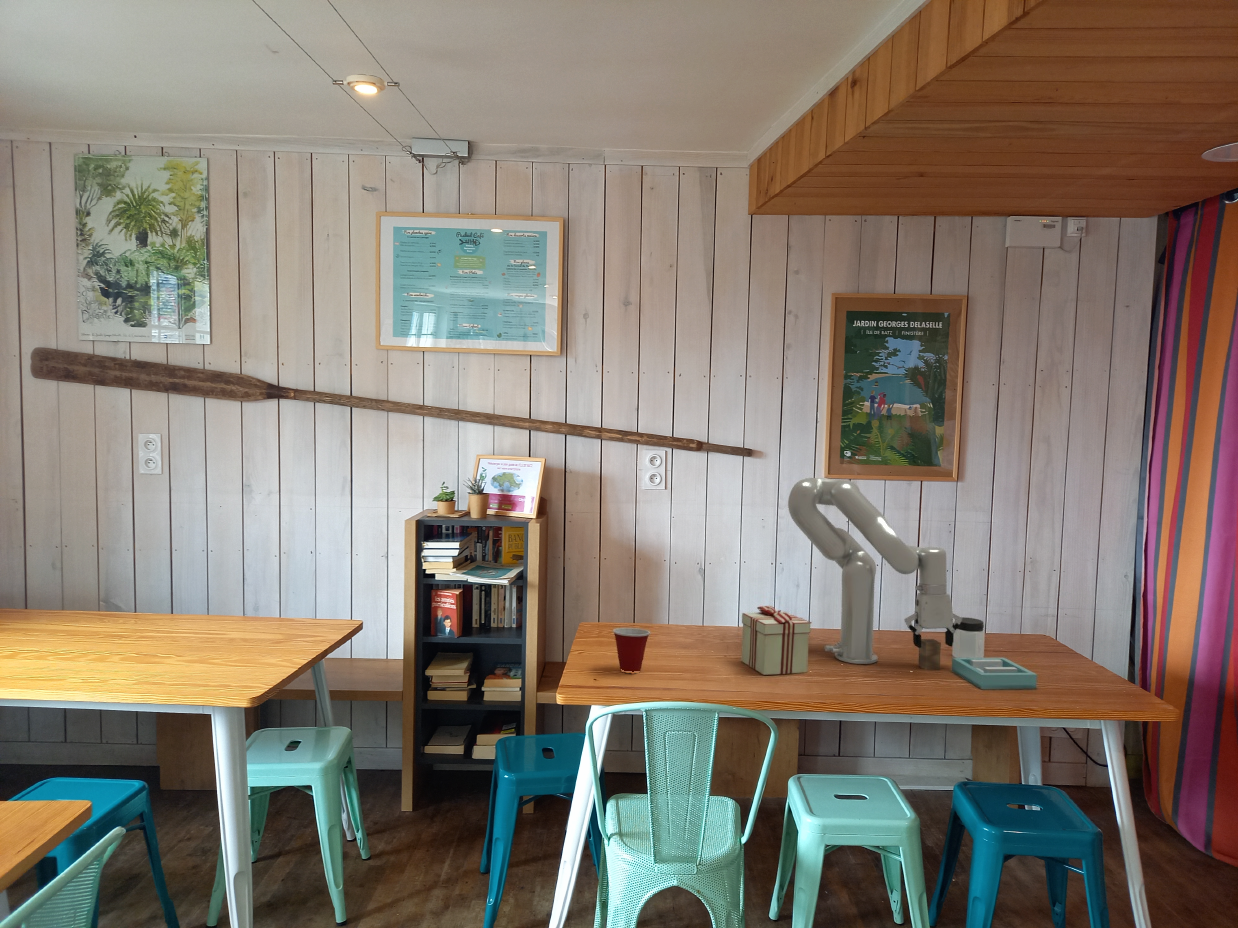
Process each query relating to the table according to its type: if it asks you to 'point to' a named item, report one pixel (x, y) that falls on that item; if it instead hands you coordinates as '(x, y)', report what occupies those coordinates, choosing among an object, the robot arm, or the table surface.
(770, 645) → the gift box
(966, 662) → the candle dish
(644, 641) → the plastic cup
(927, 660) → the brown wooden block
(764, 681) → the table surface
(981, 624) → the jar
